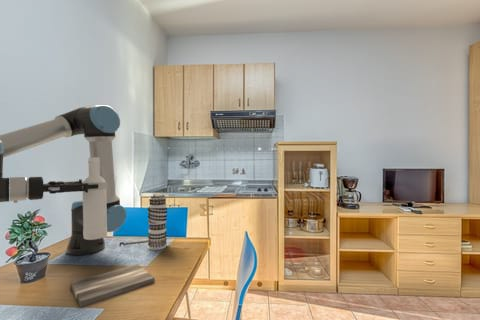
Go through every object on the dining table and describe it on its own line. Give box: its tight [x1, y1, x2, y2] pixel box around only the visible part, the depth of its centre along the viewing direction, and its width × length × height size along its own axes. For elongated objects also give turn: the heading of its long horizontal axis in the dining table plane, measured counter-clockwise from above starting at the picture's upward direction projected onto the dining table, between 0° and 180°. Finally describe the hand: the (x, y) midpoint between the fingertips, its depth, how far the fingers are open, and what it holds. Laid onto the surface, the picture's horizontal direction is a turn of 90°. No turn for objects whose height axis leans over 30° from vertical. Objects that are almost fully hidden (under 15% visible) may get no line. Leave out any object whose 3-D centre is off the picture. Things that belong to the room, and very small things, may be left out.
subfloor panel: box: [69, 263, 155, 308], centre depth 86 cm, size 15×22×2 cm
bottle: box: [82, 157, 108, 240], centre depth 96 cm, size 8×8×30 cm
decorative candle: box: [146, 193, 168, 251], centre depth 122 cm, size 9×9×25 cm
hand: (104, 184), depth 98 cm, fingers closed on bottle, 8 cm apart
